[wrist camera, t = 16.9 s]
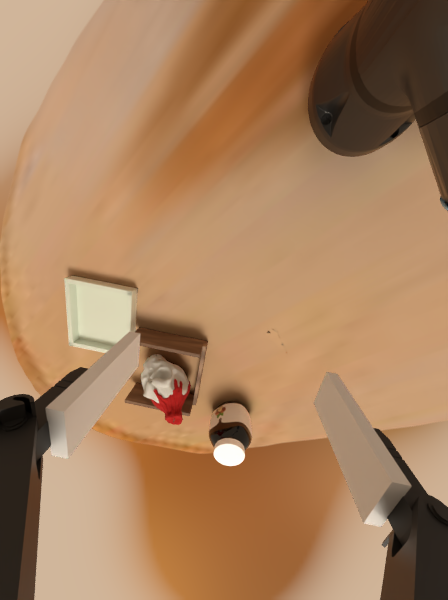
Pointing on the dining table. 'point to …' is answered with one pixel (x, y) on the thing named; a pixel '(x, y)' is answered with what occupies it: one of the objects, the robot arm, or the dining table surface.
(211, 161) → the dining table surface
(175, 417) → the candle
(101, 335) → the sage tray
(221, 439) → the spread jar
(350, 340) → the dining table surface
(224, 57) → the dining table surface
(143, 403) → the walnut holder
